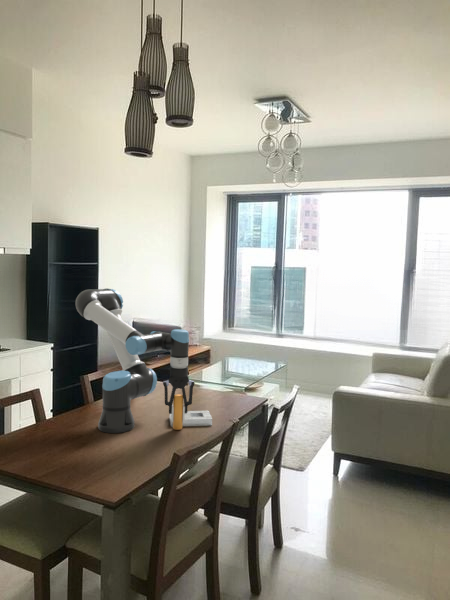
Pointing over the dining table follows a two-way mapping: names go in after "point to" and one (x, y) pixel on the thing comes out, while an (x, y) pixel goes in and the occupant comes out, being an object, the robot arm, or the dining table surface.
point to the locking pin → (178, 412)
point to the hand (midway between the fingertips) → (177, 420)
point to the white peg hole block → (196, 418)
